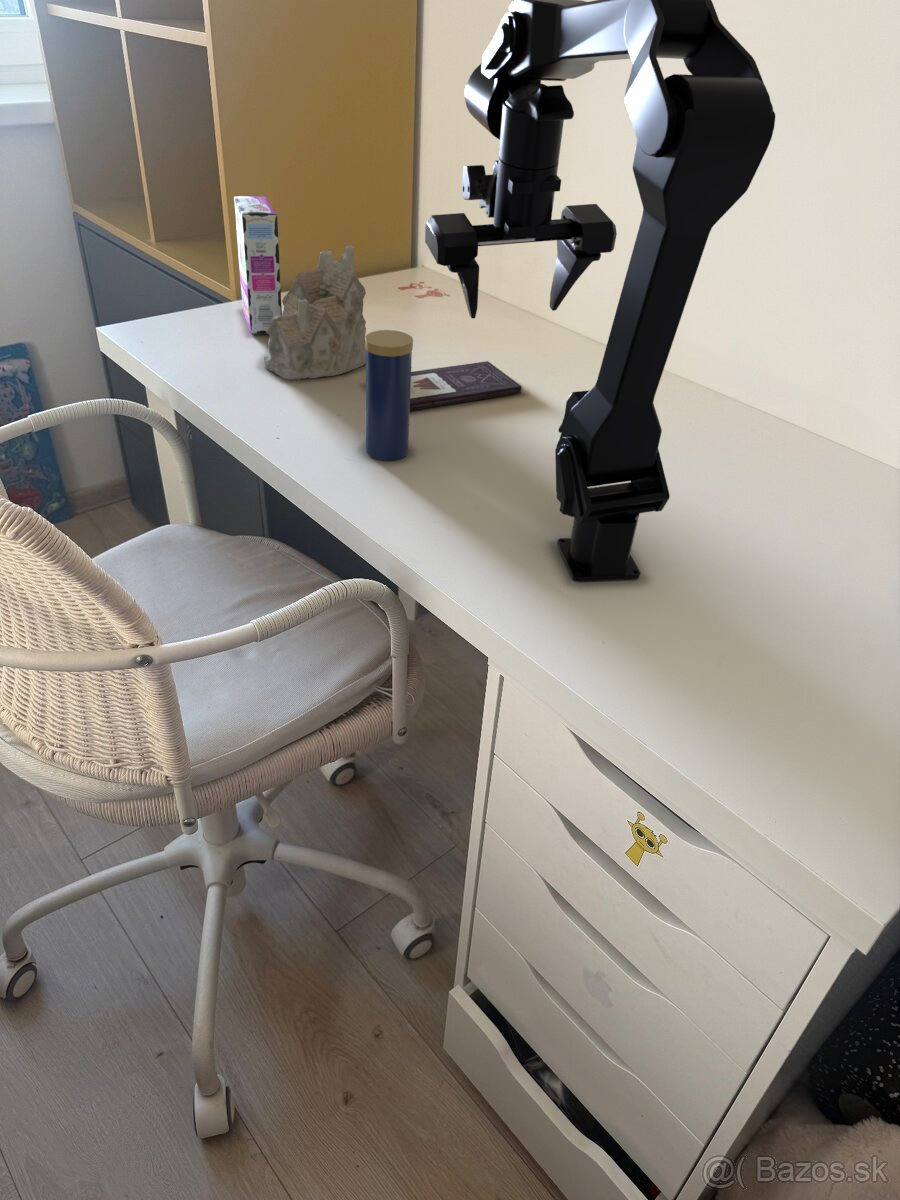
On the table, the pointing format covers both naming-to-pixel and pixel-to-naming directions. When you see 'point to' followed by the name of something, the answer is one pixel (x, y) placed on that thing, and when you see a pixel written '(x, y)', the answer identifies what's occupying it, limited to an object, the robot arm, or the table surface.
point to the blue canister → (388, 394)
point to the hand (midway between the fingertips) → (512, 312)
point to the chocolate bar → (459, 385)
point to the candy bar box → (258, 261)
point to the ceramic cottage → (320, 322)
